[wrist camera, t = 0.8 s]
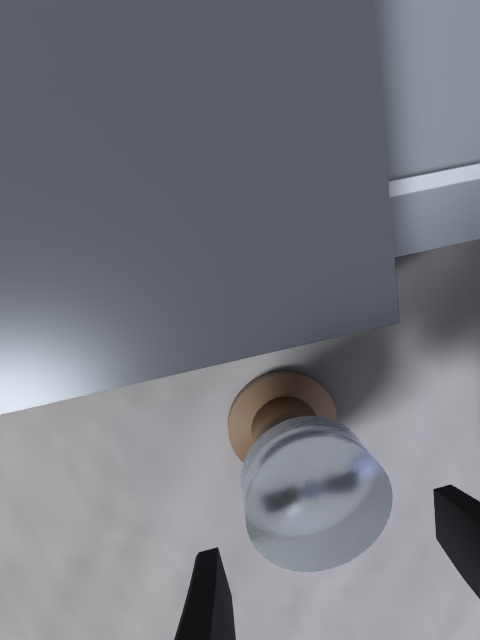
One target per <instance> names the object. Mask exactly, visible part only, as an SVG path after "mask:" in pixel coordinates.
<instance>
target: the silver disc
mask: <svg viewBox="0 0 480 640" xmlns="http://www.w3.org/2000/svg"><path fill="white" fill-rule="evenodd" d="M241 487H242V495H243V503H244V510H245V518H246V525H247V531H248V534H249V537H250V539H251V541H252V543H253V545H254V546H255V548H256V549H257V550H258V552H259V553H260V554H261V555H262V556H263V557H265V558H266V559H267V560H269V561H270V562H272V563H274V564H276V565H278V566H280V567H283V568H285V569H289V570H294V571H302V572H313V571H322V570H326V569H331V568H334V567H337V566H340V565H342V564H344V563H346V562H348V561H350V560H352V559H354V558H356V557H357V556H358V555H360V554H361V553H363V552H364V551H365V550H366V549H367V548H368V547H370V546H371V545H372V544H373V542H374V541H375V540H376V539H377V538H378V536H379V535H380V534H381V532H382V531H383V529H384V527H385V525H386V523H387V521H388V518H389V516H390V512H391V508H392V489H391V484H390V481H389V478H388V476H387V474H386V472H385V470H384V469H383V468H382V467H381V465H380V464H379V463H378V462H377V460H376V459H375V458H374V457H373V455H372V454H371V453H370V452H369V451H368V449H367V448H366V447H365V446H364V445H363V443H362V442H361V441H360V440H359V439H358V437H357V436H356V435H355V434H354V433H353V432H352V431H351V430H350V429H349V428H348V427H346V426H345V425H344V424H342V423H340V422H338V421H336V420H333V419H330V418H326V417H321V416H302V417H296V418H292V419H289V420H286V421H284V422H281V423H279V424H277V425H275V426H274V427H272V428H270V429H269V430H268V431H266V432H265V433H264V434H263V435H262V436H260V437H259V438H258V439H257V441H256V442H255V443H254V444H253V445H252V447H251V448H250V450H249V452H248V453H247V455H246V458H245V460H244V463H243V466H242V471H241Z"/></svg>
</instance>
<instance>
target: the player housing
mask: <svg viewBox="0 0 480 640" xmlns="http://www.w3.org/2000/svg"><path fill="white" fill-rule="evenodd" d="M396 323H399V311H398V298H397V285H396V272H395V260H394V247H393V234H392V221H391V208H390V195H389V183H388V170H387V157H386V144H385V131H384V118H383V105H382V93H381V80H380V67H379V54H378V41H377V28H376V16H375V3H374V0H0V415H1V414H5V413H10V412H14V411H18V410H23V409H27V408H31V407H36V406H40V405H44V404H49V403H53V402H57V401H62V400H66V399H70V398H75V397H79V396H84V395H88V394H92V393H97V392H101V391H105V390H110V389H114V388H118V387H123V386H127V385H131V384H136V383H140V382H144V381H149V380H153V379H157V378H162V377H166V376H170V375H175V374H179V373H183V372H188V371H192V370H197V369H201V368H205V367H210V366H214V365H218V364H223V363H227V362H231V361H236V360H240V359H244V358H249V357H253V356H257V355H262V354H266V353H270V352H275V351H279V350H283V349H288V348H292V347H296V346H301V345H305V344H309V343H314V342H318V341H323V340H327V339H331V338H336V337H340V336H344V335H349V334H353V333H357V332H362V331H366V330H370V329H375V328H379V327H383V326H388V325H392V324H396Z"/></svg>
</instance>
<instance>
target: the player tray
mask: <svg viewBox="0 0 480 640" xmlns="http://www.w3.org/2000/svg"><path fill="white" fill-rule="evenodd" d="M374 3H375V16H376V28H377V41H378V54H379V67H380V80H381V93H382V105H383V118H384V131H385V144H386V157H387V170H388V183H389V195H390V208H391V221H392V234H393V247H394V258H395V257H399V256H404V255H409V254H413V253H418V252H423V251H427V250H432V249H436V248H441V247H446V246H450V245H455V244H459V243H464V242H469V241H473V240H478V239H480V0H374Z"/></svg>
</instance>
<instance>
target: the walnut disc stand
mask: <svg viewBox="0 0 480 640" xmlns="http://www.w3.org/2000/svg"><path fill="white" fill-rule="evenodd" d="M302 416H321V417H326V418H330V419H333V420H336V421H338V414H337V410H336V406H335V404H334V401H333V399H332V398H331V396H330V395H329V393H328V392H327V391H326V390H325V389H324V387H323V386H322V385H321V384H320V383H319V382H317V381H316V380H315V379H313V378H311V377H310V376H308V375H305V374H303V373H299V372H295V371H276V372H271V373H268V374H265V375H262V376H260V377H258V378H256V379H255V380H253V381H251V382H250V383H249V384H248V385H246V386H245V387H244V388H243V389H242V390H241V391H240V393H239V394H238V395H237V397H236V398H235V400H234V402H233V404H232V406H231V409H230V413H229V418H228V430H229V438H230V442H231V445H232V448H233V450H234V452H235V454H236V455H237V456H238V458H239V459H240V460H241V461H242V462H243V463H244V460H245V458H246V455H247V453H248V452H249V450H250V448H251V447H252V445H253V444H254V443H255V442H256V441H257V439H258V438H259V437H260V436H262V435H263V434H264V433H265V432H266V431H268V430H269V429H270V428H272V427H274V426H275V425H277V424H279V423H281V422H284V421H286V420H289V419H292V418H296V417H302Z"/></svg>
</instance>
